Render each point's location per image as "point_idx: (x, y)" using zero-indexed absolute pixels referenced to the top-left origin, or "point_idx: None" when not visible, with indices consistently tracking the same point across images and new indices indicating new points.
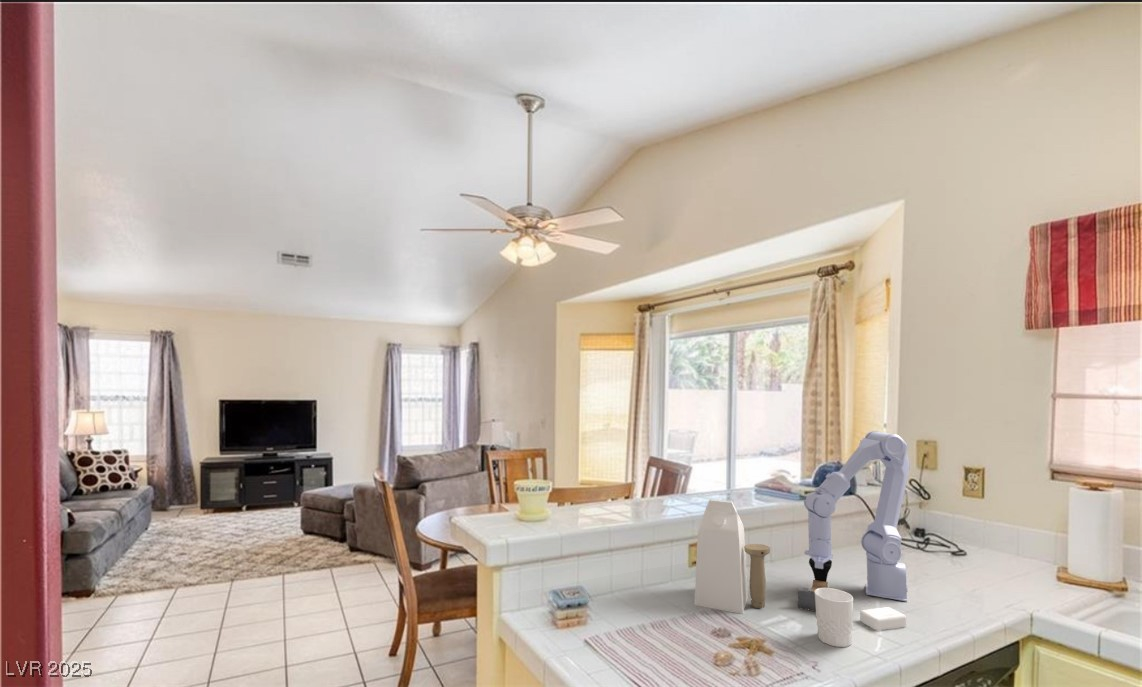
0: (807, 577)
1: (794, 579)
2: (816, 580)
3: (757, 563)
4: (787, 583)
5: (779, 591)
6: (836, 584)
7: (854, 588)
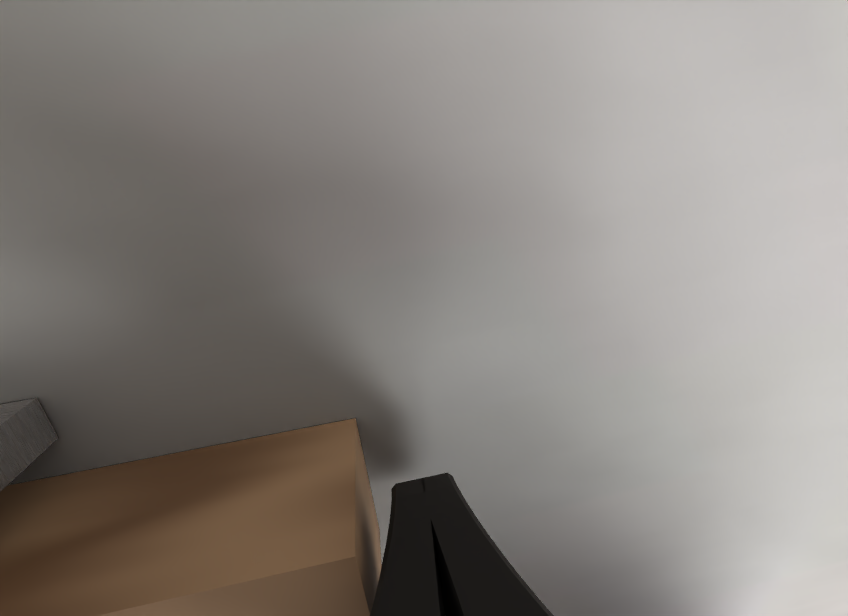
0: (811, 249)
1: (695, 123)
2: (350, 594)
3: None
4: (493, 63)
5: (30, 11)
6: (706, 498)
7: (670, 600)
